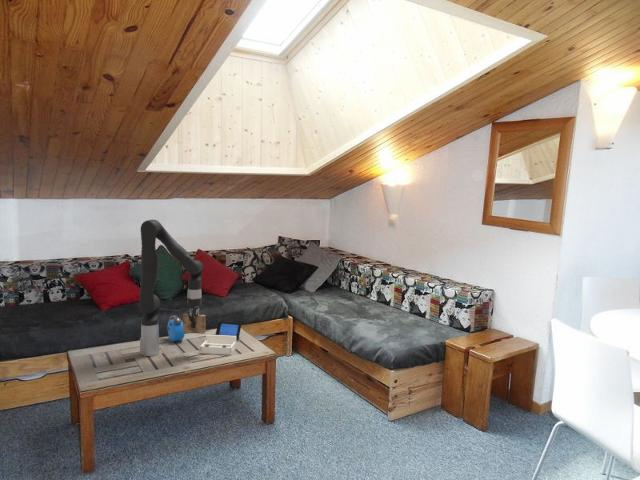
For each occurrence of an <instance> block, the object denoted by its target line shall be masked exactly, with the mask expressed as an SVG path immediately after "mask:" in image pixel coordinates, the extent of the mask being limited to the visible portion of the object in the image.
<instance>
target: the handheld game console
mask: <svg viewBox="0 0 640 480" xmlns="http://www.w3.org/2000/svg"><path fill="white" fill-rule="evenodd" d="M241 329H242V324H241V323H238V322H237V323H235V322H225V321H219V322H218V323H217V325H216V330H215V334H214V335H226V336H236V342H237V341H239V339H240V333H241Z"/></svg>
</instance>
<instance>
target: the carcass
mask: <svg viewBox="0 0 640 480" xmlns="http://www.w3.org/2000/svg"><path fill="white" fill-rule="evenodd" d="M236 349H237V341H236V336H226V335H215V334H206V335H205V340H204V342H203V343H202V344H201V345H200V346H199V354H205V355H206V354H209V355H212V354H213V355H228V356H229V355H232V354H233V353H234V352H235V351H236Z"/></svg>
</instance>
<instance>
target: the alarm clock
mask: <svg viewBox="0 0 640 480" xmlns="http://www.w3.org/2000/svg"><path fill="white" fill-rule="evenodd" d="M167 334H168V339H169V340H170V341H171V342H178V341H181V342H182V341H183V340H184V338H185V333H183V319H181V318H180V317H178V316H177V315H171V316H170V317H169V320H168V323H167Z"/></svg>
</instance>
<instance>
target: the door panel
mask: <svg viewBox="0 0 640 480" xmlns="http://www.w3.org/2000/svg"><path fill="white" fill-rule="evenodd" d="M194 316H195V315H194ZM206 317H207V314H199V315H197V317H196V326H195V328H191V321H190V320H189V315H188V313H183V314H182V322H183V333H184V334H199V335H200V334H202V335H203V334H205V333H206V332H207V331H206V330H207V329H206V327H207V326H206V321H207V318H206Z"/></svg>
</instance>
